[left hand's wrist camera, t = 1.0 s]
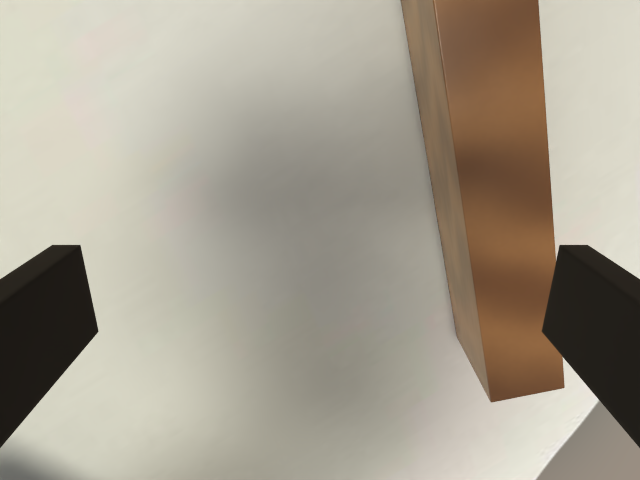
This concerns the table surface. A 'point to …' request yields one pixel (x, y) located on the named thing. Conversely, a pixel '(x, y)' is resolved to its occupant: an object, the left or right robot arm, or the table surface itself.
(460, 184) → the beam
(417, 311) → the table surface
